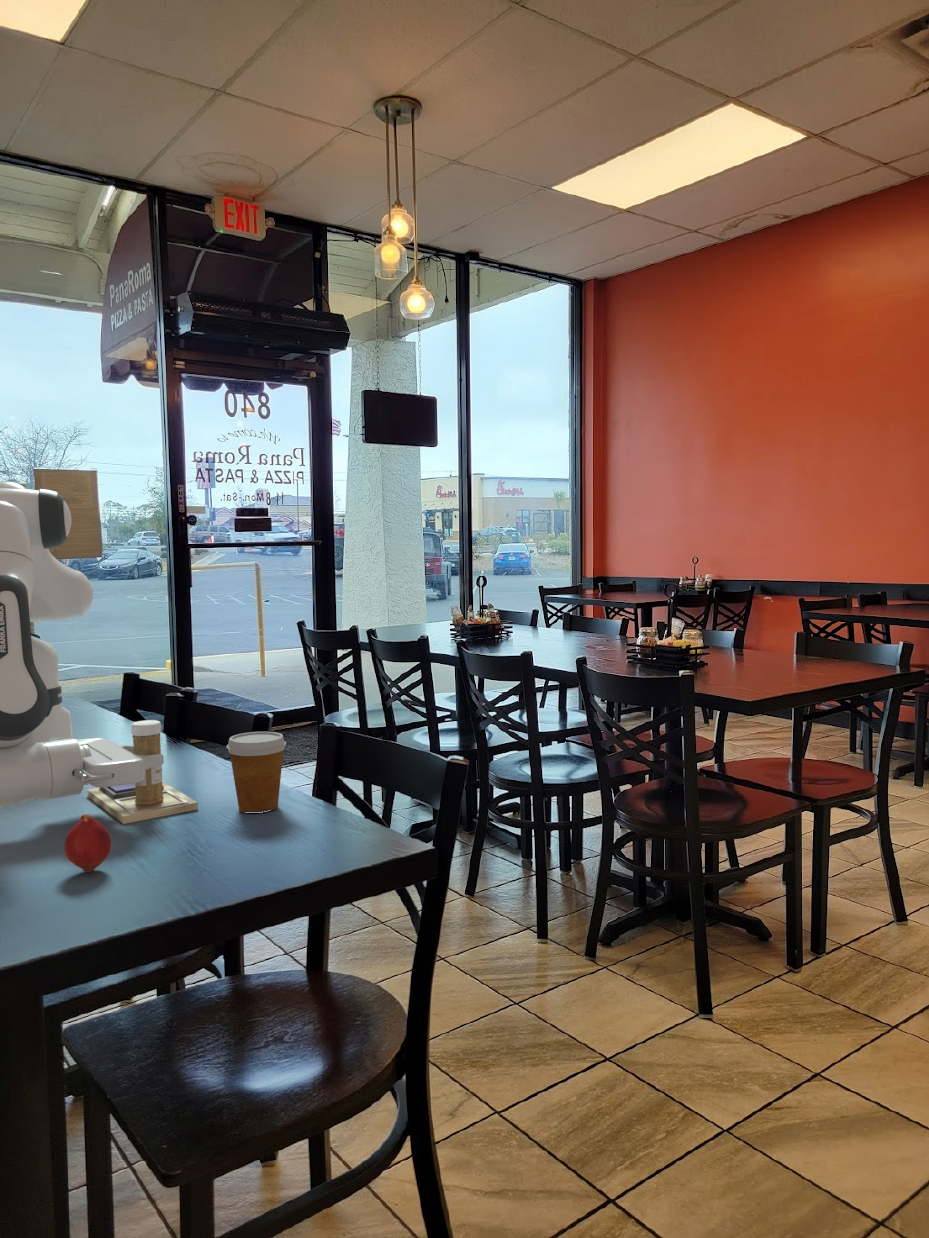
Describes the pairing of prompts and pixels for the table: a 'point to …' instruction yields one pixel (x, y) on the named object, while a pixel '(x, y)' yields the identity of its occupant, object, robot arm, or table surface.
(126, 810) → the stamp station
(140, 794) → the sprinkles bottle
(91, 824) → the onion
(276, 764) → the disposable coffee cup
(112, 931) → the table surface
